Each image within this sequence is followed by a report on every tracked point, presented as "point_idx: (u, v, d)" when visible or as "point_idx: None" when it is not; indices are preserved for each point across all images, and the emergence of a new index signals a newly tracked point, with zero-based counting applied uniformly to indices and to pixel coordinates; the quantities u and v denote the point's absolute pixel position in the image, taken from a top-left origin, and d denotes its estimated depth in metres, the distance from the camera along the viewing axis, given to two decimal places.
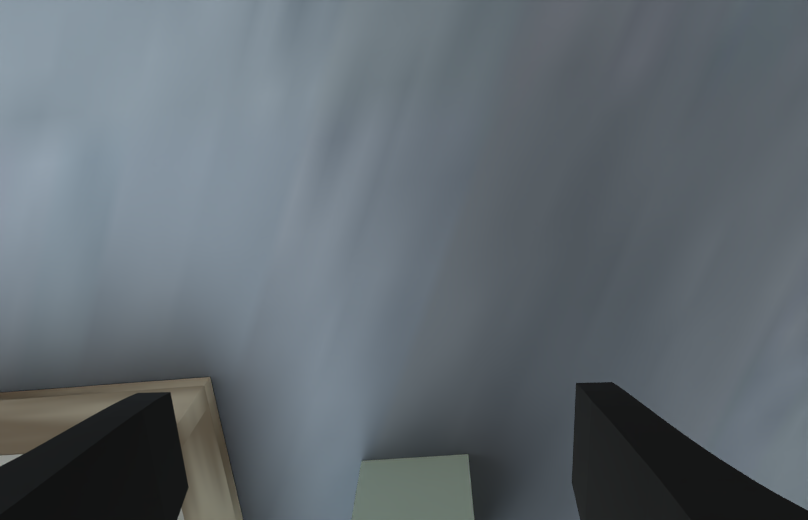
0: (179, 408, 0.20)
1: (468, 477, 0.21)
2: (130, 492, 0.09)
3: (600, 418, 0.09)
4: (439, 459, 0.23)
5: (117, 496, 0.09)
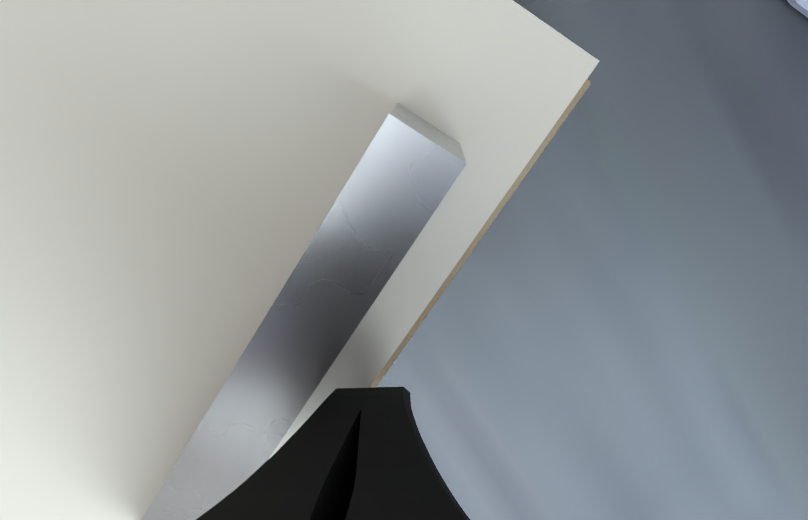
0: None
1: None
2: None
3: None
4: None
5: None
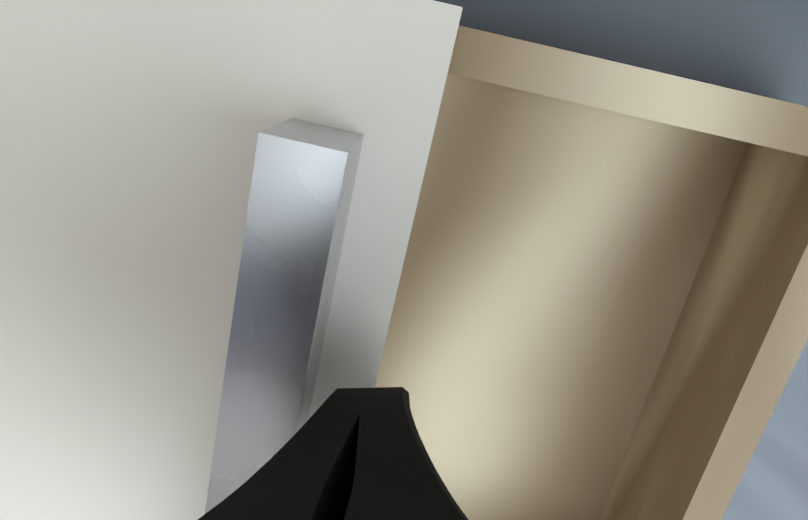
0: None
1: None
2: None
3: None
4: None
5: None
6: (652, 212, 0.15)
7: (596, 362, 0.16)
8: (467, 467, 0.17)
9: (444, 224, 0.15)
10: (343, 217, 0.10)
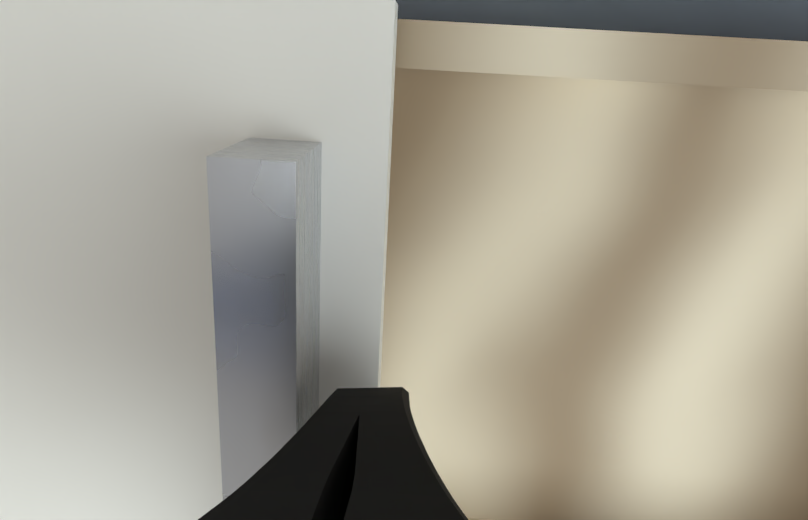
0: None
1: None
2: None
3: None
4: None
5: None
6: None
7: None
8: (703, 472, 0.17)
9: (665, 233, 0.15)
10: (312, 226, 0.10)
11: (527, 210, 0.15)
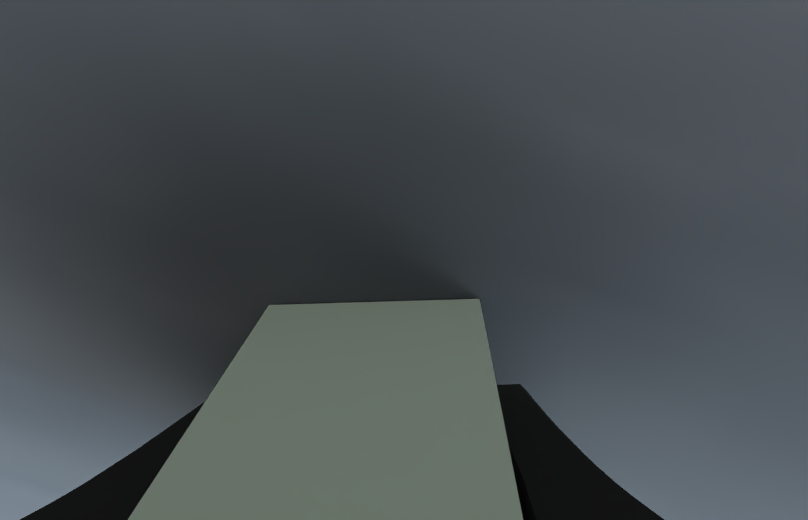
0: None
1: (249, 338, 0.10)
2: None
3: None
4: None
5: None
6: None
7: None
8: None
9: None
10: None
11: None
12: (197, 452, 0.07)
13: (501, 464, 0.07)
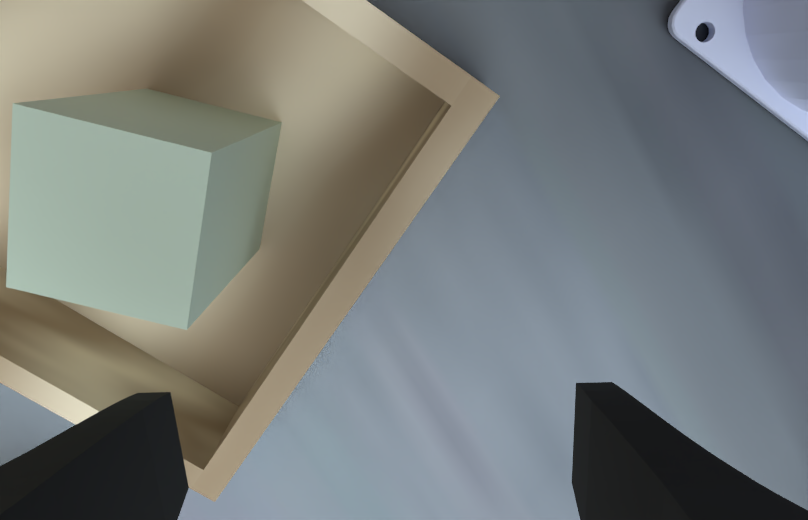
0: None
1: (124, 93, 0.17)
2: (130, 492, 0.09)
3: (600, 418, 0.09)
4: None
5: (117, 496, 0.09)
6: (361, 127, 0.18)
7: (288, 239, 0.19)
8: None
9: (194, 73, 0.18)
10: None
11: None
12: (68, 102, 0.13)
13: (223, 143, 0.13)
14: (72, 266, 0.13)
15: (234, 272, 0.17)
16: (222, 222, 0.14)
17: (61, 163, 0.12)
